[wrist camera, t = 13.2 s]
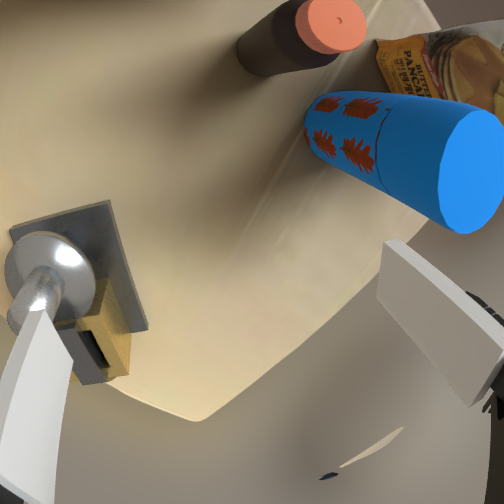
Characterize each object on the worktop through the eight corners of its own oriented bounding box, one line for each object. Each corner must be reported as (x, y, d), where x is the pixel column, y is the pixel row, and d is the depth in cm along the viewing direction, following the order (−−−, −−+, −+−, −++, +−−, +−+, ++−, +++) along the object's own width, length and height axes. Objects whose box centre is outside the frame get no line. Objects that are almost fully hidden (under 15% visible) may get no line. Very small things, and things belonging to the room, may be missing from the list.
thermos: (310, 172, 44) (433, 253, 22) (294, 98, 38) (431, 114, 17) (373, 154, 45) (507, 215, 23) (362, 85, 39) (510, 104, 18)
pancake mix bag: (390, 22, 35) (552, 13, 11) (433, 126, 45) (576, 177, 20) (359, 35, 35) (532, 21, 11) (408, 144, 45) (557, 206, 21)
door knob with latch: (11, 219, 35) (-50, 285, 20) (108, 192, 38) (72, 254, 23) (71, 352, 48) (54, 434, 33) (154, 339, 50) (157, 427, 35)
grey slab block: (65, 290, 40) (48, 333, 32) (88, 285, 41) (74, 328, 33) (91, 340, 45) (82, 385, 37) (112, 336, 46) (107, 381, 38)
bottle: (251, 85, 36) (320, 77, 19) (226, 41, 33) (275, -7, 16) (296, 64, 36) (390, 49, 19) (273, 20, 33) (353, -27, 15)
